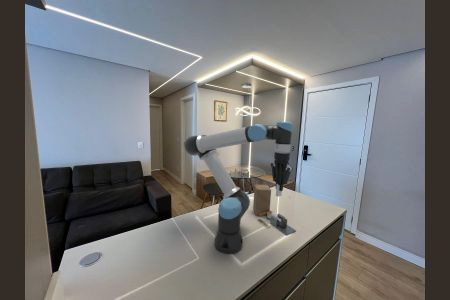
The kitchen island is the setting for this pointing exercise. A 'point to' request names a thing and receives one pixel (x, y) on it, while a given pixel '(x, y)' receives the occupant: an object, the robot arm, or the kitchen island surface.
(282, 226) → the gauge slider with pointer
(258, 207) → the wooden block
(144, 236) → the kitchen island surface
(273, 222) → the gauge housing
